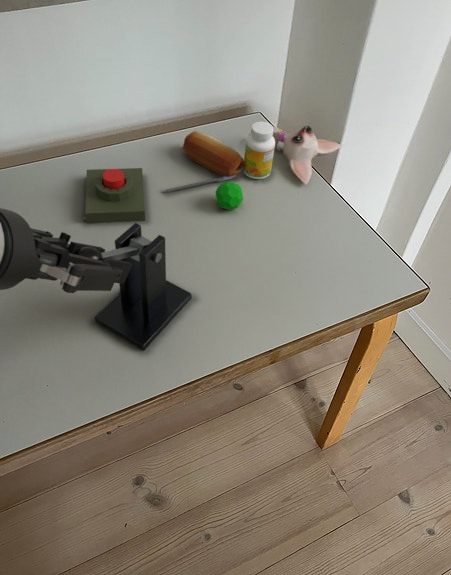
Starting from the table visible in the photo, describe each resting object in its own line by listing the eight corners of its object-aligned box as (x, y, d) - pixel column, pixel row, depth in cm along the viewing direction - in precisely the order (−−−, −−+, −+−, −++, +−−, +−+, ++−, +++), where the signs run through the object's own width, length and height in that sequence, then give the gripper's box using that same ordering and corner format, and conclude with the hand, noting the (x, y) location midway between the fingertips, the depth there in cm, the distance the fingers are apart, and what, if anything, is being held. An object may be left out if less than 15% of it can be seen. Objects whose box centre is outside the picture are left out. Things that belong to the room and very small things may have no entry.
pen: (166, 189, 104) (236, 173, 109) (166, 189, 105) (235, 174, 109) (168, 193, 104) (237, 177, 109) (167, 194, 105) (236, 178, 109)
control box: (88, 179, 106) (85, 161, 103) (142, 177, 107) (141, 159, 104) (86, 223, 98) (83, 205, 95) (145, 220, 100) (144, 202, 97)
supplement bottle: (237, 169, 111) (241, 125, 103) (257, 159, 113) (263, 115, 106) (255, 183, 108) (261, 139, 101) (276, 173, 111) (283, 129, 103)
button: (103, 177, 101) (102, 169, 100) (124, 176, 102) (123, 168, 100) (103, 190, 99) (102, 182, 97) (124, 189, 99) (124, 181, 98)
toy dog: (285, 90, 115) (350, 124, 111) (278, 121, 121) (339, 154, 117) (244, 126, 107) (312, 164, 103) (239, 158, 114) (303, 194, 110)
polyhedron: (213, 196, 105) (215, 175, 102) (240, 196, 106) (242, 176, 102) (215, 215, 102) (217, 194, 98) (243, 215, 102) (245, 194, 99)
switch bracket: (143, 351, 82) (139, 281, 71) (95, 322, 84) (82, 251, 73) (191, 298, 89) (194, 227, 78) (145, 273, 91) (141, 201, 80)
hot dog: (230, 165, 104) (247, 150, 106) (175, 136, 109) (192, 122, 111) (231, 185, 108) (247, 170, 110) (178, 156, 113) (195, 142, 115)
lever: (86, 285, 66) (93, 256, 64) (62, 271, 67) (69, 243, 65) (153, 264, 78) (160, 240, 77) (132, 253, 79) (139, 229, 78)
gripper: (-105, 245, 53) (51, 264, 75) (27, 328, 48) (153, 322, 70) (-76, 170, 52) (73, 211, 74) (62, 246, 47) (178, 266, 69)
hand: (112, 265), depth 72 cm, fingers closed on lever, 4 cm apart
